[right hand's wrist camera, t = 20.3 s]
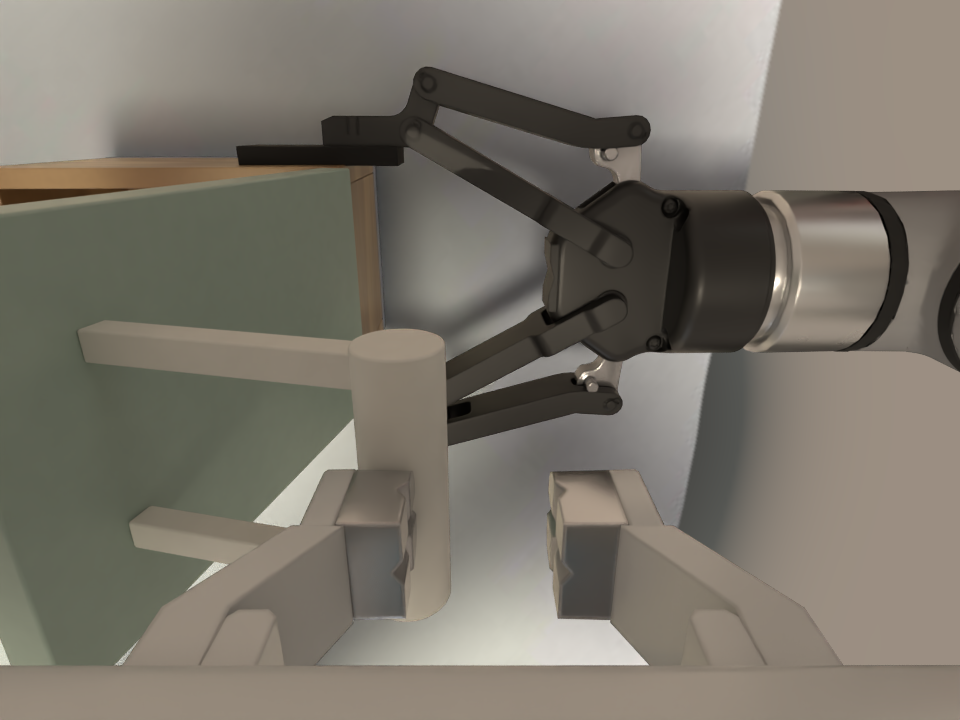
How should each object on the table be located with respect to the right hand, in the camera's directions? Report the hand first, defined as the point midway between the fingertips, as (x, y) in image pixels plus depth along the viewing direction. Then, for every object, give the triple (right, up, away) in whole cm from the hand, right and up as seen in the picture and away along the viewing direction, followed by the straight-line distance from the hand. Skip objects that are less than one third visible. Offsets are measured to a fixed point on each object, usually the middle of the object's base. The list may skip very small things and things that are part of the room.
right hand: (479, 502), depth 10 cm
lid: (-8, +3, +7) cm, 11 cm away
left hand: (-10, +6, +17) cm, 20 cm away
